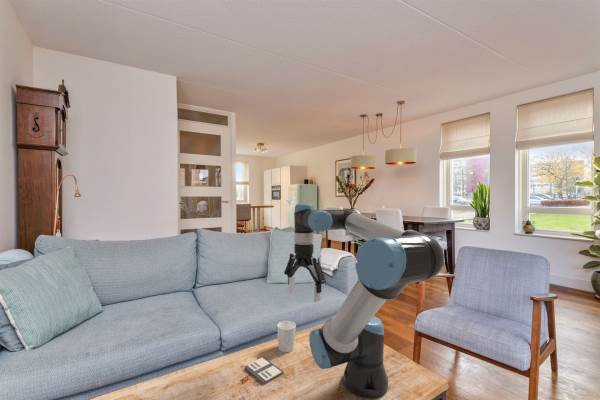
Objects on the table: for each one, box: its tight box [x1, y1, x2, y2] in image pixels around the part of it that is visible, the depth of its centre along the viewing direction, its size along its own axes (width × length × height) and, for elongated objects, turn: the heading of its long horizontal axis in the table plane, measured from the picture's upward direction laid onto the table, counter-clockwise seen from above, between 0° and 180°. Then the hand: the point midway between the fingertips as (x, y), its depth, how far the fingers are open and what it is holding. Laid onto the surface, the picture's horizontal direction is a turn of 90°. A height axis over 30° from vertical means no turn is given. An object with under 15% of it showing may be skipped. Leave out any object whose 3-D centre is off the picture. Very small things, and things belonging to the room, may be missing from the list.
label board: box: [244, 357, 285, 386], centre depth 105 cm, size 12×9×1 cm
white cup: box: [276, 320, 297, 353], centre depth 121 cm, size 8×8×10 cm
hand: (304, 296), depth 113 cm, fingers open, 13 cm apart
